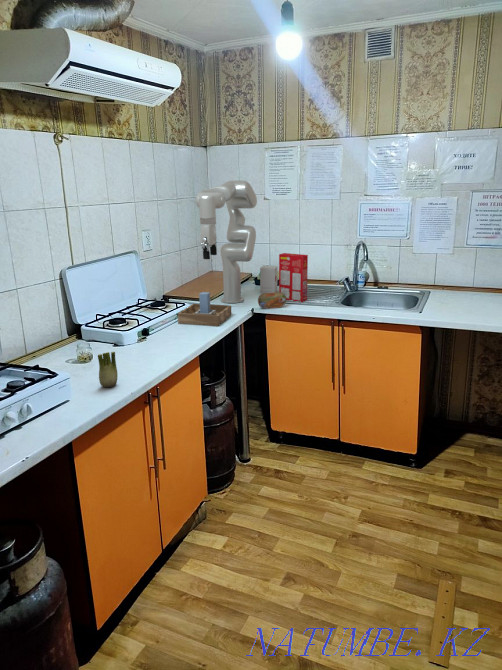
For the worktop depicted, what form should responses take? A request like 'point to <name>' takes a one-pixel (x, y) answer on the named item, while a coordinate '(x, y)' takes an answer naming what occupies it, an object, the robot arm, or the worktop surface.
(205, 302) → the connector
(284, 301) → the brown snack packet
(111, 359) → the fennel bulb
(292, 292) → the food packaging
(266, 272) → the supplement box
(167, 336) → the worktop surface
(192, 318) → the walled box
